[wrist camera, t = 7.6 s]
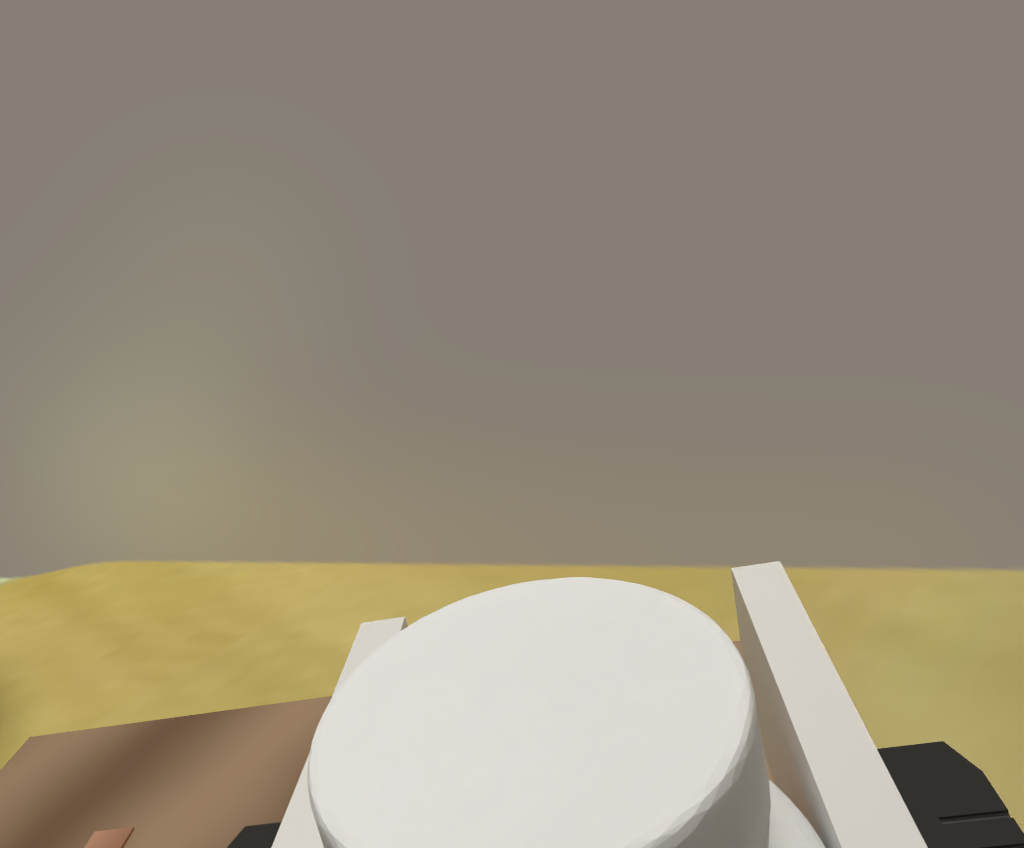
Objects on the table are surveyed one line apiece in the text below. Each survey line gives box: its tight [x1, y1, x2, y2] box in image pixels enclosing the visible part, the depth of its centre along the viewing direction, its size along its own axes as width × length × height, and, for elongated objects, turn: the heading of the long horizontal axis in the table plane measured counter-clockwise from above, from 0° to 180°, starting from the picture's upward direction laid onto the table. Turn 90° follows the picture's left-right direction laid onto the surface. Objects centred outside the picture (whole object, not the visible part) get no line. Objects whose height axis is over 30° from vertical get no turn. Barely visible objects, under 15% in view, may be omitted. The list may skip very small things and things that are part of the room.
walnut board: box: [0, 641, 775, 848], centre depth 18 cm, size 22×9×1 cm, turn 87°
